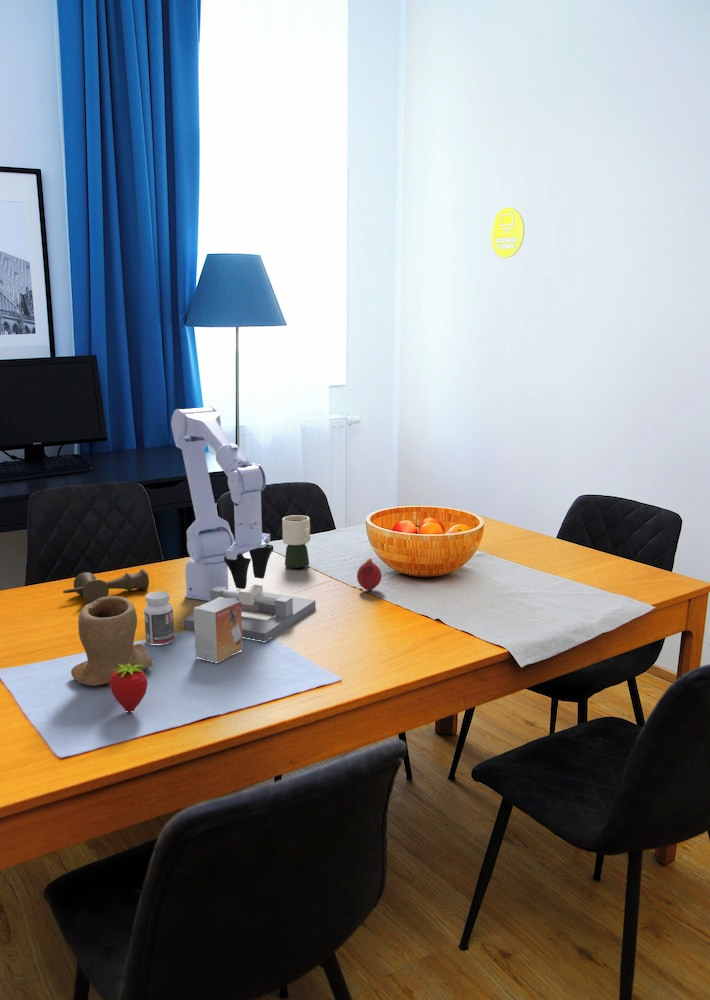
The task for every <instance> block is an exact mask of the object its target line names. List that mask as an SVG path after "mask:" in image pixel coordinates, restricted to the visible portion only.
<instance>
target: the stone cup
mask: <svg viewBox="0 0 710 1000" xmlns="http://www.w3.org/2000/svg"><path fill="white" fill-rule="evenodd" d="M137 614H138V613H137V610H136V608H135V606H134V603H133V602H132V601H131V600H130V599H129V598H126V597H124V596H120V595H119V596H118V595H111V596H110V595H108V597H102V598H99V599H97V600H95V601H93V602H92V603H90V604H88V603H86V604H85V605H84V606H83V607H82V609H81V610H80V612H79V613H78V620H77V624H78V625H77V627H78V635H79V640H80V642H81V644H82V645H81V646H82V647H83V649H84V651H85V655H86V658H87V660H85V661H83V662H80V663H79V664H76V665H75V666H73V667H72V669H71V670H70V674H71V676H72V678H73V679H74V680H75V681H77V682H78V683H80V684H82V685H87V686H92V687H93V686H95V687H97V686H102V685H105V684H109V681H110V676H111V674H112V673H113V672H114V671H115V670H114V671H113V669H118V668H120V667H119V666H118V664H121V665H127V664H128V663H129V664H130V665H131V666H132V667H133V666H134V665H145V666H142V667H138V669H140V670H142V671H144V670H146V669H148V668H151V667H152V666H154V662H153V658H151V656H150V655H149V653H148V652H147V648H146V647H147V646H146V645H144V643H135V637H136V631H137V627H138V615H137ZM134 643H135V644H134ZM131 656H132V657H131ZM130 658H131V660H130ZM129 660H130V662H129Z"/></svg>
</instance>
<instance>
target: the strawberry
mask: <svg viewBox="0 0 710 1000" xmlns="http://www.w3.org/2000/svg"><path fill="white" fill-rule="evenodd" d="M131 657H132V656H131ZM130 660H131V658H130ZM130 660H129V662H130ZM118 666H119V667H120V668H118V669H113V671H114V670H115V671H114V672H113V673H112V674H111V676H110V681H109V683H108V685H109V687H110V691H111V694H112V696H113V697H114V699H116V701H117V702H118V704H119V705H120V706H121V707H122V708H123V710H124V711H125V712H126V711H128V712H131V711H133V712H134V711H135V709H136V708H137V706H138V705H139V704H140V703H141V702H142V700H143V699H144V697H145V695H146V694H147V688H148V684H149V683H148V679H147V675H146V674H145V672H144V670H140V669H138V667H142V666H145V665H134V666H133V667H132V666H131V665H130V664H129V663H128V664H127V665H121V664H118ZM128 712H127V713H128Z"/></svg>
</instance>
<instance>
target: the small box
mask: <svg viewBox="0 0 710 1000" xmlns="http://www.w3.org/2000/svg"><path fill="white" fill-rule="evenodd" d="M193 614H194V647H195V658H196V657H199V658H202V659H205V660H209V661H213V662H219V661H221V660H223V659H225V658H227V657H229V656H231V655H232V654H234V653H237V652H238V651H240V650H242V651H243V639H242V620H241V616H242V609H241V601H237V600H233V599H228V598H224V597H218V598H217V599H215V600H212V601H207V602H205V603H202V604H201V605H199V606H194V607H193ZM237 654H238V653H237ZM231 657H232V656H231ZM229 658H230V657H229ZM227 659H228V658H227ZM225 660H226V659H225ZM223 661H224V660H223ZM221 662H222V661H221ZM219 663H220V662H219Z"/></svg>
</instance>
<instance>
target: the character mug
mask: <svg viewBox="0 0 710 1000" xmlns="http://www.w3.org/2000/svg"><path fill="white" fill-rule="evenodd" d="M281 519H282V520H281V521H282V522H281V523H282V524H281V526H282V528H281V529H282V542H283V544H285V545H287V546H286V548H285V557H284V566H285V567H286V568H291V569H296V568H299V569H302V568H303V567H308V566H309V565H310V560H309V553H308V547H307V545H306V544H308V543H309V542H310V541H311V525H310V524H311V522H310V521H311V519H310V517H309V516H307V515H301V514H299V515H296V514H295V515H294V514H292V515H288V516H284V517H283V518H281Z"/></svg>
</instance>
